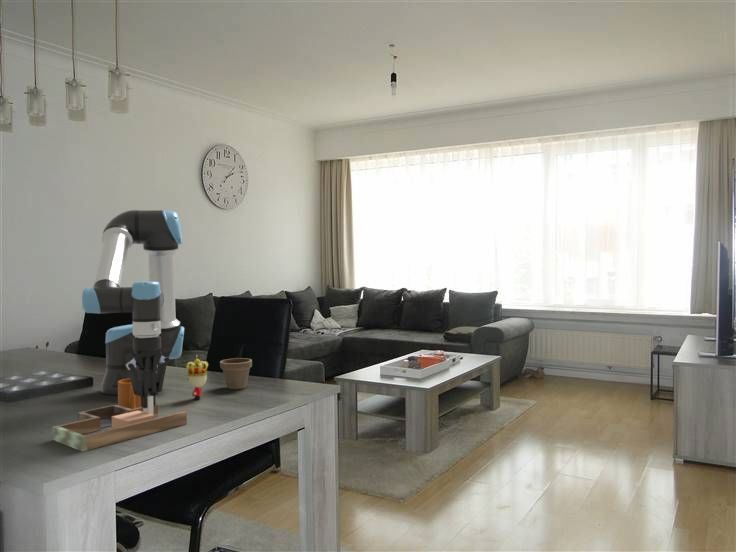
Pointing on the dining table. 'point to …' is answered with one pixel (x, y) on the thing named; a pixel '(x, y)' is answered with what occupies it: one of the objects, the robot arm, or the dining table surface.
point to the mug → (127, 395)
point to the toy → (197, 376)
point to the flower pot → (236, 372)
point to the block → (130, 418)
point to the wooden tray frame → (103, 418)
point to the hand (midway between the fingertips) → (148, 418)
